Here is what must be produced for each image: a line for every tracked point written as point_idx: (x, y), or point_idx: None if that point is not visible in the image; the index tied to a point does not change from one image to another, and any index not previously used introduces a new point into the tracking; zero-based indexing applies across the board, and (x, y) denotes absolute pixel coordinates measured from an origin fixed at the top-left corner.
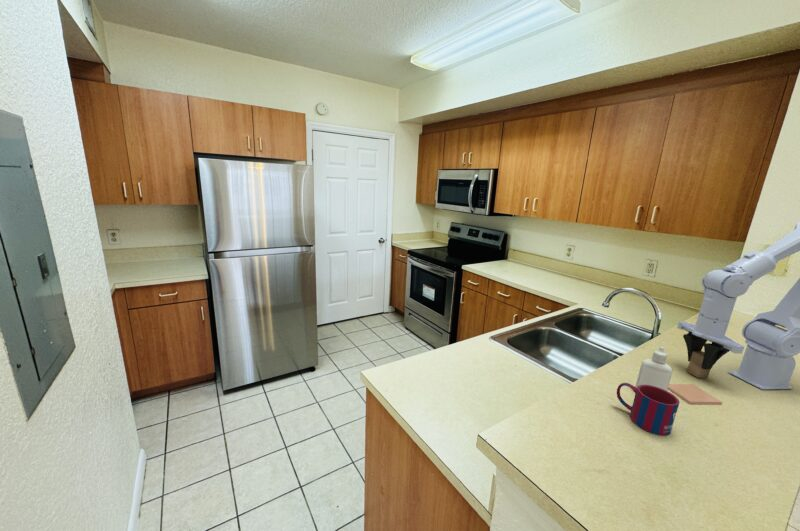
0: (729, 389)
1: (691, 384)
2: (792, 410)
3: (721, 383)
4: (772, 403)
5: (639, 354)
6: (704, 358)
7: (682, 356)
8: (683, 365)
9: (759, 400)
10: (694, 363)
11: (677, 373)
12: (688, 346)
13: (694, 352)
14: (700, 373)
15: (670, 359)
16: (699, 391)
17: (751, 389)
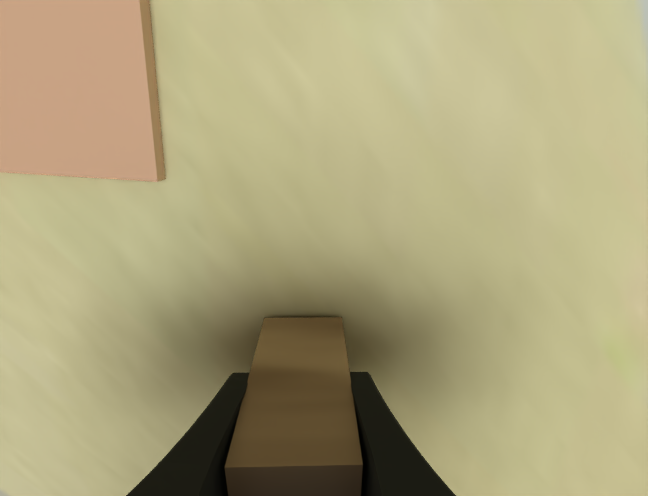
0: (158, 387)
1: (151, 163)
2: (8, 492)
3: None
4: (52, 466)
5: (620, 187)
6: (206, 444)
7: (507, 458)
8: (419, 373)
9: (68, 434)
10: (309, 373)
11: (332, 235)
12: (419, 488)
13: (342, 460)
14: (258, 344)
15: (497, 359)
16: (49, 125)
17: None
